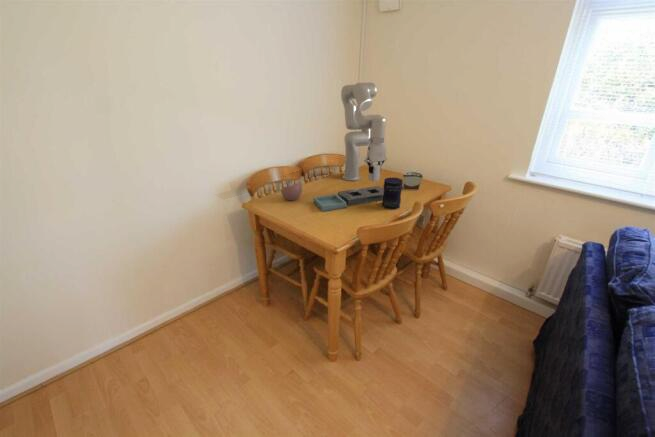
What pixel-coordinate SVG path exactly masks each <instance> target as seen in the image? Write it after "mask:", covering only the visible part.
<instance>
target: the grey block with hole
mask: <svg viewBox="0 0 655 437" xmlns="http://www.w3.org/2000/svg"><path fill="white" fill-rule="evenodd" d="M337 195H338V196H339V197H340V198H341V199H343V200H344V201H345V202H346V203H347V206H348V207H349V206H357V205H362V204H368V203H373V202H374V203H375V202H379V201H382V200H383V195H384V187H381V185H374V186H369V187H363V188H362V187H361V188H356V189H355V188H354V189H347V190H346V189H345V190H342V191H341V190H340V191H337Z"/></svg>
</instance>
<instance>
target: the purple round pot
mask: <svg viewBox="0 0 655 437" xmlns="http://www.w3.org/2000/svg"><path fill="white" fill-rule="evenodd" d="M290 182H291V180H290V179H288V181H286V183H285V185H286V187H282V188H281V189H280V193H281V195H282V197H283V198H284V199H286V200H288V201H294V200H297V199H299V198H300V197H301V195H302V192H303V187H302V185H301V183H300V182H298V183H294V184H291V185H290Z"/></svg>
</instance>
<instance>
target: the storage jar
mask: <svg viewBox="0 0 655 437" xmlns="http://www.w3.org/2000/svg"><path fill="white" fill-rule="evenodd" d="M403 184H404V179H402V178H399V177H386V178H384V182H383V189H384V195H383V200H381V201H382V202H381V203H382V205H381V206H382V207H383V209H387V210H398V209H400V205H401V202H402V199H401V196H402V191H403Z"/></svg>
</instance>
